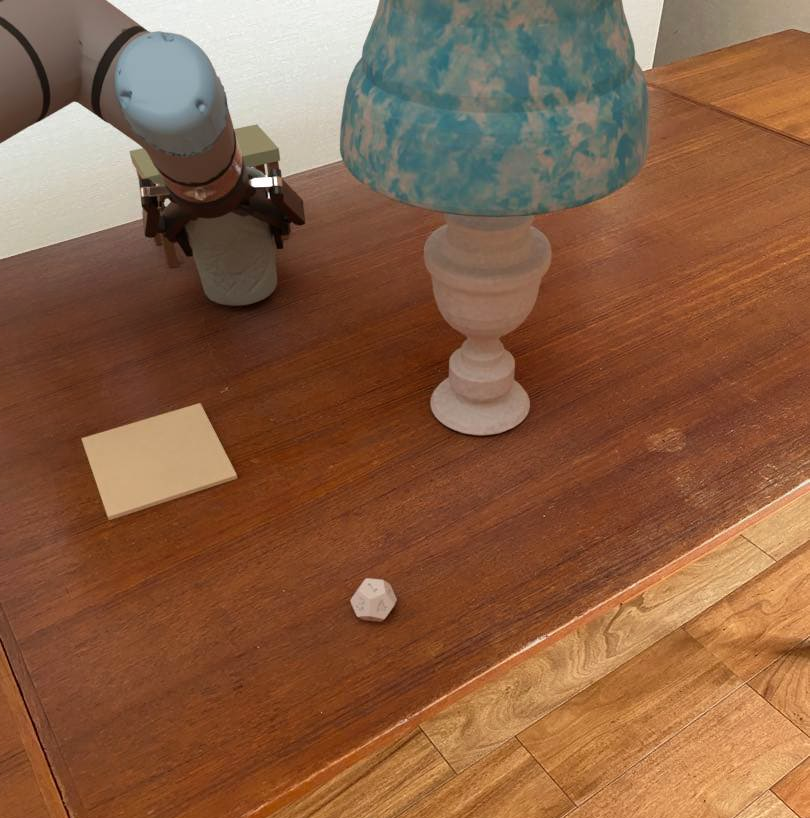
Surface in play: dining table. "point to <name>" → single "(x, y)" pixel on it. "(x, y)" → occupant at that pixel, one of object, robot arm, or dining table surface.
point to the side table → (254, 153)
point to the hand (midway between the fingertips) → (234, 241)
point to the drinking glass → (234, 256)
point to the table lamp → (493, 157)
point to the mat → (157, 460)
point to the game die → (373, 600)
